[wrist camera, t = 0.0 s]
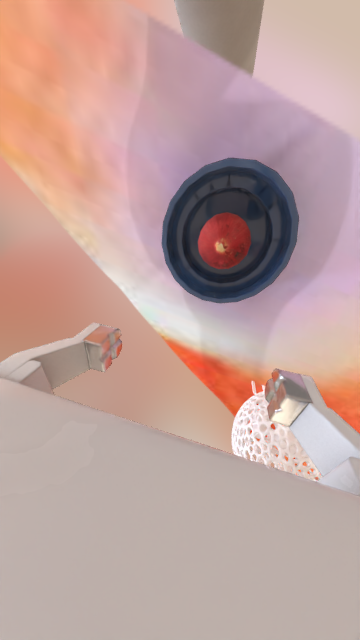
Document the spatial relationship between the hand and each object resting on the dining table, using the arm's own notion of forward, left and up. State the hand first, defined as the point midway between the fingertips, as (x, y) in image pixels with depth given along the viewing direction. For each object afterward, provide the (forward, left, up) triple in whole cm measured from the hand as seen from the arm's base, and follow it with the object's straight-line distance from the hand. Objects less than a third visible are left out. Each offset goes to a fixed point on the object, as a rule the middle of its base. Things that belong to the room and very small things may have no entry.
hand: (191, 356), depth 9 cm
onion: (-4, 0, -19) cm, 20 cm away
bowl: (-4, 0, -20) cm, 20 cm away
